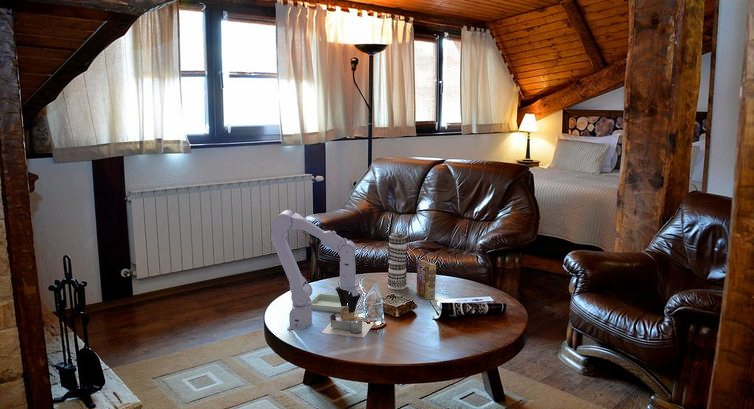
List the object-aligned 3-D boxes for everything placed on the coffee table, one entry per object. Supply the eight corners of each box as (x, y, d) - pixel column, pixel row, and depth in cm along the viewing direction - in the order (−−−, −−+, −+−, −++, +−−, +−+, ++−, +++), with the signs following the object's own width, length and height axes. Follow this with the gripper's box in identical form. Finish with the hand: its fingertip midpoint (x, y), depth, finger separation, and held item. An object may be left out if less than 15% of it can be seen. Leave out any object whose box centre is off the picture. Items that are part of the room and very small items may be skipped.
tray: (340, 314, 238) (340, 307, 238) (306, 311, 242) (306, 304, 241) (350, 303, 252) (350, 296, 251) (318, 300, 255) (318, 293, 254)
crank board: (363, 340, 213) (363, 337, 213) (321, 335, 217) (321, 332, 217) (375, 323, 229) (375, 321, 228) (335, 319, 232) (335, 317, 232)
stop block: (354, 325, 224) (354, 310, 223) (344, 327, 222) (344, 311, 221) (350, 321, 228) (350, 306, 227) (340, 323, 226) (340, 308, 225)
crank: (364, 330, 219) (364, 317, 218) (358, 334, 215) (359, 321, 214) (333, 324, 224) (333, 311, 223) (327, 328, 220) (327, 315, 219)
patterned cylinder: (384, 284, 277) (384, 231, 272) (403, 282, 280) (404, 230, 275) (390, 290, 268) (391, 236, 264) (410, 288, 271) (411, 234, 267)
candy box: (435, 298, 258) (436, 264, 255) (427, 300, 256) (428, 265, 253) (423, 292, 266) (424, 259, 263) (415, 294, 263) (416, 260, 261)
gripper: (365, 277, 217) (365, 313, 219) (350, 267, 230) (350, 301, 232) (347, 280, 214) (347, 316, 216) (332, 269, 227) (333, 304, 229)
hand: (347, 308), depth 224 cm, fingers open, 7 cm apart
